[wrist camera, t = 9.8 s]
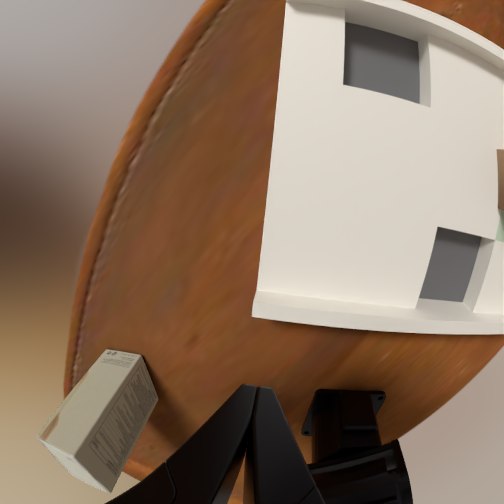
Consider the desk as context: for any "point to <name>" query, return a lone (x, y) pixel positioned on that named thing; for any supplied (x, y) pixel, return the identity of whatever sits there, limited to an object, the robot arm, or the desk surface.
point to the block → (500, 178)
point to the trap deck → (384, 173)
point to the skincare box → (102, 419)
